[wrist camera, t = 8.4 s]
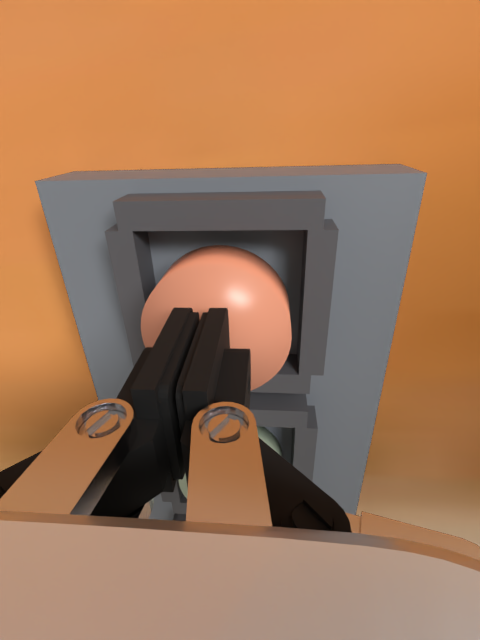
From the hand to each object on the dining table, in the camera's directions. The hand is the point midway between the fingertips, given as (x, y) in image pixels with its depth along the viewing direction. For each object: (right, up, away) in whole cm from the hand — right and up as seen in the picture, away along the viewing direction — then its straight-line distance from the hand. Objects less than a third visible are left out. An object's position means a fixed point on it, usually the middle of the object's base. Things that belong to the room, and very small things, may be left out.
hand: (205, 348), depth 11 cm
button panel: (+1, -4, +10) cm, 11 cm away
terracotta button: (0, +1, +2) cm, 3 cm away
